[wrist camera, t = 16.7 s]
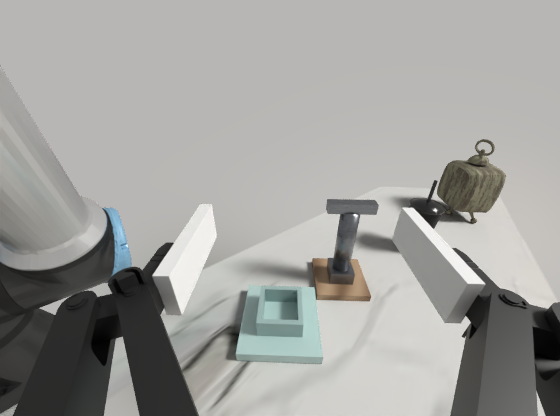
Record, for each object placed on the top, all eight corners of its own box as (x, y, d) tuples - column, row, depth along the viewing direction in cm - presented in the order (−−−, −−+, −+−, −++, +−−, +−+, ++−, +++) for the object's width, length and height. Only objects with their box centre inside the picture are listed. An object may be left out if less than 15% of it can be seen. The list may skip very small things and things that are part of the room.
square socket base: (236, 360, 38) (233, 341, 35) (249, 291, 50) (247, 273, 47) (321, 363, 38) (325, 344, 35) (313, 293, 50) (315, 275, 47)
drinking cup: (394, 237, 67) (414, 173, 57) (424, 243, 65) (450, 177, 55) (397, 254, 61) (420, 185, 51) (429, 261, 59) (460, 190, 49)
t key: (320, 283, 50) (330, 208, 41) (318, 267, 55) (326, 195, 45) (362, 284, 50) (381, 209, 40) (356, 268, 54) (372, 196, 45)
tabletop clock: (482, 226, 72) (524, 147, 60) (452, 225, 73) (488, 146, 60) (454, 204, 85) (484, 134, 72) (429, 203, 85) (455, 134, 73)
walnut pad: (316, 299, 48) (317, 294, 48) (312, 262, 58) (312, 258, 57) (369, 301, 48) (370, 296, 47) (356, 263, 58) (357, 259, 57)
